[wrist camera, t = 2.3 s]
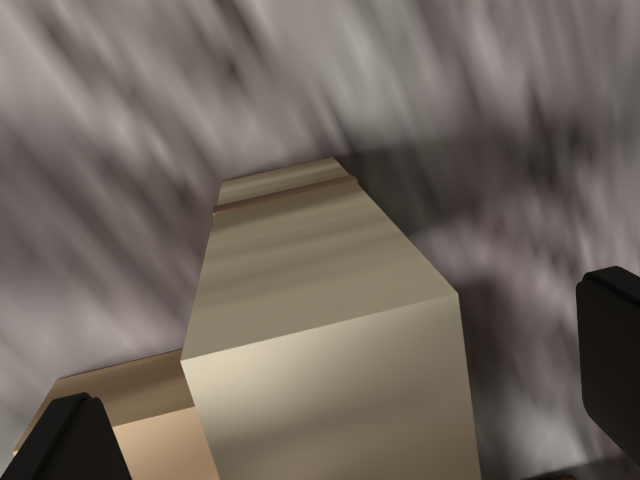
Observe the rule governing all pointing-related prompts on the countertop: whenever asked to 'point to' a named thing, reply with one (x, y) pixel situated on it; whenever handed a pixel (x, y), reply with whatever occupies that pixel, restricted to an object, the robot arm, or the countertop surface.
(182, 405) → the seat board
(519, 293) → the countertop surface
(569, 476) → the brick
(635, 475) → the countertop surface
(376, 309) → the peg
